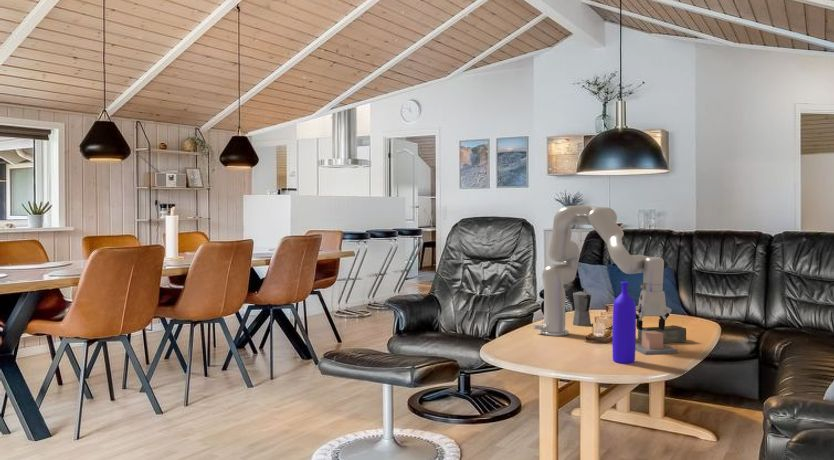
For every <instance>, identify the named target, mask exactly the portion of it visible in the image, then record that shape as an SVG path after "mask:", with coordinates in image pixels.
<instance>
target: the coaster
mask: <svg viewBox="0 0 834 460" xmlns="http://www.w3.org/2000/svg"><path fill="white" fill-rule="evenodd" d="M636 351H637V352H638V353H641V354H643V355H661V354H662V355H666V354H678V353H679V349H677V348H674V347H671V346H668V345H666V344H665V343H663V348H656V349H649V348H646V347H644V346H642V342H641V343H636V346H635V352H636Z"/></svg>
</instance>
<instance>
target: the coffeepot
mask: <svg viewBox="0 0 834 460" xmlns="http://www.w3.org/2000/svg"><path fill="white" fill-rule="evenodd" d="M584 290H585V288H583V287H580V291H576V292H573V293H572V297H573V305H574V315H573V320H572V325H573V326H577V327H578V326H579V327H590V326H592V322H591V316H590V307H591V306H590V305H591V301H592V300H591V299H592V293H590V292H586V291H584ZM589 325H590V326H589Z"/></svg>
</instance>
